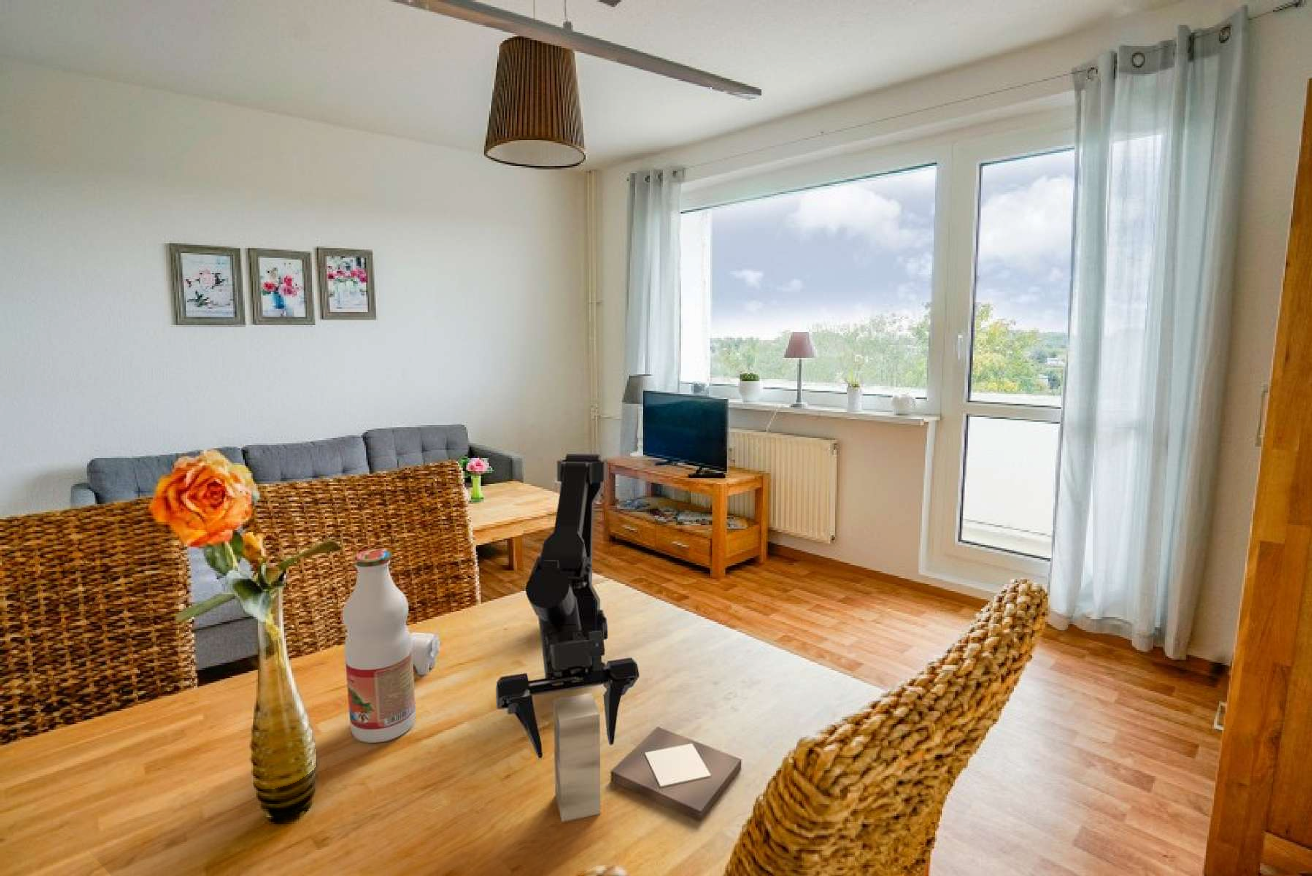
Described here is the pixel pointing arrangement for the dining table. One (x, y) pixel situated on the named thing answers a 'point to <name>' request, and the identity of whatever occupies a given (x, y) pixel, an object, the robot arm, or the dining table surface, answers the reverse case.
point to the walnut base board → (677, 772)
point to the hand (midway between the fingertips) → (576, 751)
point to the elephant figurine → (424, 651)
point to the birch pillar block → (577, 756)
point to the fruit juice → (378, 653)
